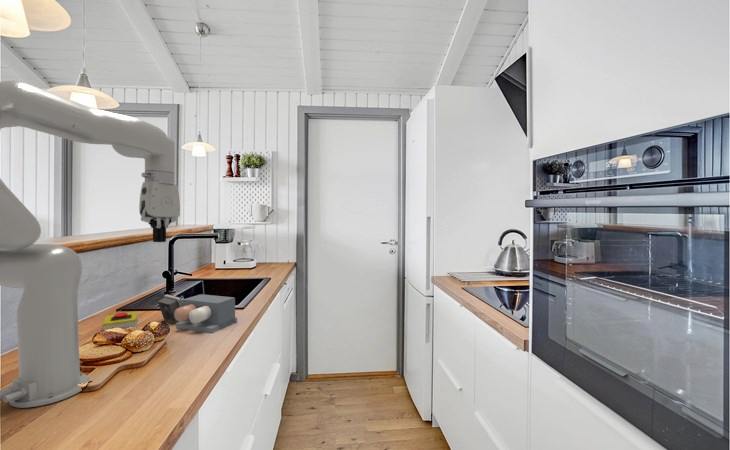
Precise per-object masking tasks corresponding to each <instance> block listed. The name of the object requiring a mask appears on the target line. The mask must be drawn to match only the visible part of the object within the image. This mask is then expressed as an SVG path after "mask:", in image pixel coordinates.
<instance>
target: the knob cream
mask: <svg viewBox="0 0 730 450" xmlns="http://www.w3.org/2000/svg"><path fill="white" fill-rule="evenodd" d="M211 315H212V312H211V307H208V306H203V307H200V308H197V309H194V310H191V311H190V313H189V319H190V321H191V322H192V323H193V324H196V323H199V322H201V321H204V320H207V319H209V318H210V317H211Z"/></svg>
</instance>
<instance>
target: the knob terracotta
mask: <svg viewBox="0 0 730 450" xmlns="http://www.w3.org/2000/svg"><path fill="white" fill-rule="evenodd" d="M194 309H197V306H195V305H193V304H190V305H187V306H184V307H180V308H177V309H176V310H175V312H174V316H175V319H176V320H177V321H179V322H182V321H184V320H187V319H189V313H190V311H191V310H194Z"/></svg>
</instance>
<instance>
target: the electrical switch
mask: <svg viewBox="0 0 730 450" xmlns="http://www.w3.org/2000/svg"><path fill="white" fill-rule="evenodd" d="M157 303H158V307H159V309H160V311H161V315H162V317H163V320H164V321H165V322H168V323H172V324H175V325H176V323H178V322H179V321H177V320H176V319H175V316H174V312H175V310H176V309H177V308H180V307H183V301H182V300H181V298H180V297H178V296H175V295H170V294H164V296H163V298H161V299H160V300H158V301H157Z"/></svg>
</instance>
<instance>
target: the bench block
mask: <svg viewBox="0 0 730 450" xmlns="http://www.w3.org/2000/svg"><path fill="white" fill-rule="evenodd" d="M190 304H193V305H195V306H197V308H200V307H203V306H208V307H211V312H212V315H211V317H210V318H209V319H207V320H204V321H201V322H199V323H196V324H193V323H192V322H191V321H190V319H187V320H184V321H182V322H178V323H176V324H175V329H181V330H188V331H196V332H202V333H208V334H209V333H210V334H213V333H215V332H217V331H220V330H221V329H224V328H226V326H227V327H228V326H230V325H233V324H235V322H236V323H238V316H237V317H236V298H235V297H234V296H233V297H232V296H221V295H213V294H212V295H211V294H203V293H201V294H197V295H194V296H189V297H187V298H183V299H182V305H183V307H184V306H187V305H190Z"/></svg>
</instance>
